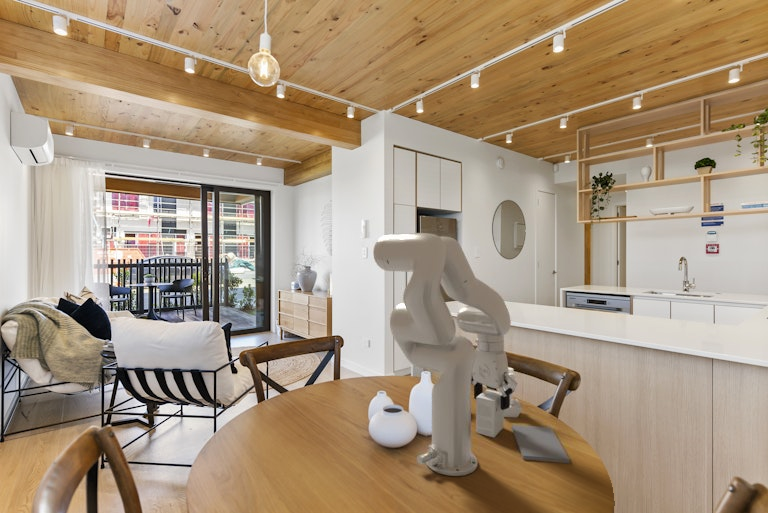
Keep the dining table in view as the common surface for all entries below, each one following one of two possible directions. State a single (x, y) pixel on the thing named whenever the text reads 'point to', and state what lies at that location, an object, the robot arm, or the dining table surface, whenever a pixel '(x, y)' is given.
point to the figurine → (512, 400)
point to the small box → (489, 413)
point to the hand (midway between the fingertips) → (491, 403)
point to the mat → (539, 444)
